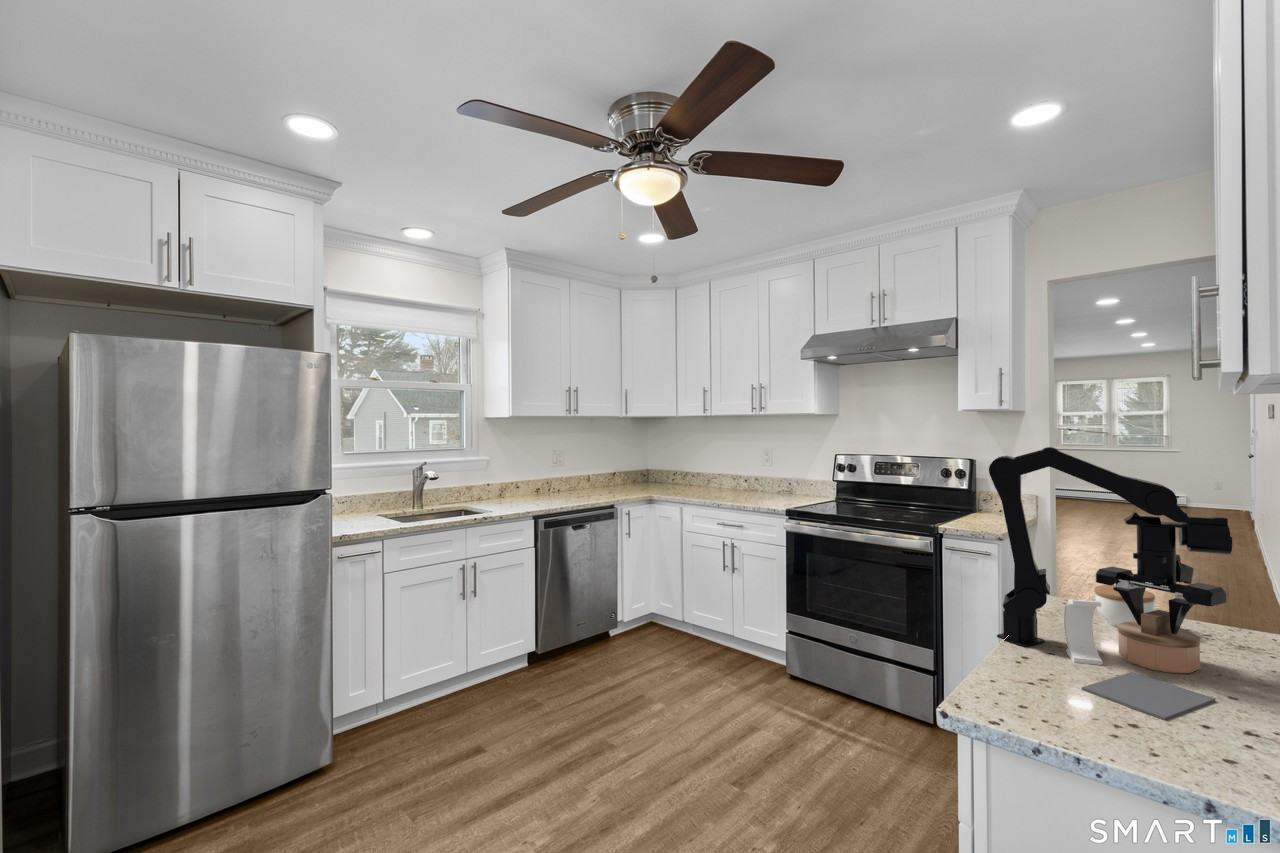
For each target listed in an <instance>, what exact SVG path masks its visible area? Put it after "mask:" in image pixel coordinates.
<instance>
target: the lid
mask: <svg viewBox="0 0 1280 853" xmlns="http://www.w3.org/2000/svg"><path fill="white" fill-rule="evenodd" d="M1117 632H1119V633H1121V634H1122V635H1124V636H1126V637H1128V638H1131V639H1134V640H1137V641H1141V642H1144V643H1149V644H1154V645H1159V646H1166V647H1176V648H1191V647H1197V646H1199V645H1200V646H1201V638H1200V636H1198V635H1197V634H1196V633H1193V632H1190V631H1188V630H1185V629H1182V628H1180V629H1179V631H1178V633H1177V634H1172V633H1171V628H1170V616H1169V611H1167V610H1162V609H1155V610H1154V611H1151V612H1147V613H1143V614H1141V626H1140V625H1138V623H1137V622H1124V623H1120V624H1119V625H1118V627H1117Z"/></svg>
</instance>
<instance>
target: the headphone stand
mask: <svg viewBox="0 0 1280 853" xmlns="http://www.w3.org/2000/svg"><path fill="white" fill-rule="evenodd" d="M1064 607H1065V608H1064V617H1063V618H1064V620H1063V622H1064V623H1063V624H1064V625H1063V626H1064V627H1063V628H1064V635H1065V642H1066V645H1067V648H1066V649H1065V651H1066V652H1065V653H1066V654H1067V655H1068V658H1070V659H1071V660H1072V662H1073V663H1079V664H1088V665H1095V666H1096V665H1098V666H1103V660H1102V659H1101V657H1100V655H1099V652H1098V650H1097V646H1096V642H1095V637H1094V628H1093V626H1094V624H1093V621H1094V614H1095V610H1096V608H1097V607H1101V602H1099V601H1095V600H1084V599H1083V600H1082V599H1072V598H1071V599H1068V600H1067V601H1066V604H1065V606H1064Z"/></svg>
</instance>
